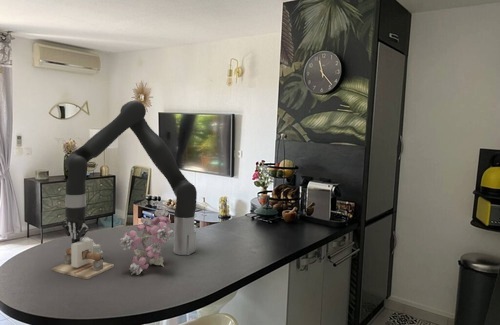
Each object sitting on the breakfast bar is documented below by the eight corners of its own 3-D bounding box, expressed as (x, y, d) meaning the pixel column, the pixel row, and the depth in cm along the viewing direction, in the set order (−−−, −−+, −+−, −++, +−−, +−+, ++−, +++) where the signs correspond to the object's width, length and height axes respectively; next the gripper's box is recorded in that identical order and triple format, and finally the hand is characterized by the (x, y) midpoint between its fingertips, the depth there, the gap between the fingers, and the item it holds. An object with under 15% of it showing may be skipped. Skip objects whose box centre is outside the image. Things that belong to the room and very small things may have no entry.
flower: (110, 257, 155) (112, 211, 142) (160, 244, 167) (166, 201, 155) (125, 293, 141) (128, 246, 129) (178, 275, 154) (186, 231, 142)
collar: (92, 261, 148) (93, 239, 148) (77, 267, 141) (77, 245, 140) (87, 259, 149) (87, 238, 149) (71, 266, 142) (71, 243, 141)
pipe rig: (113, 266, 148) (114, 249, 148) (87, 279, 135) (87, 260, 135) (80, 259, 155) (80, 242, 154) (51, 270, 142) (51, 252, 141)
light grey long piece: (91, 235, 176) (104, 242, 156) (91, 249, 176) (104, 258, 156) (79, 237, 173) (91, 244, 153) (79, 251, 173) (91, 260, 153)
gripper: (95, 205, 146) (95, 247, 147) (71, 201, 150) (71, 242, 152) (80, 208, 139) (80, 252, 140) (55, 204, 143) (55, 247, 145)
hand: (75, 247), depth 146 cm, fingers closed
